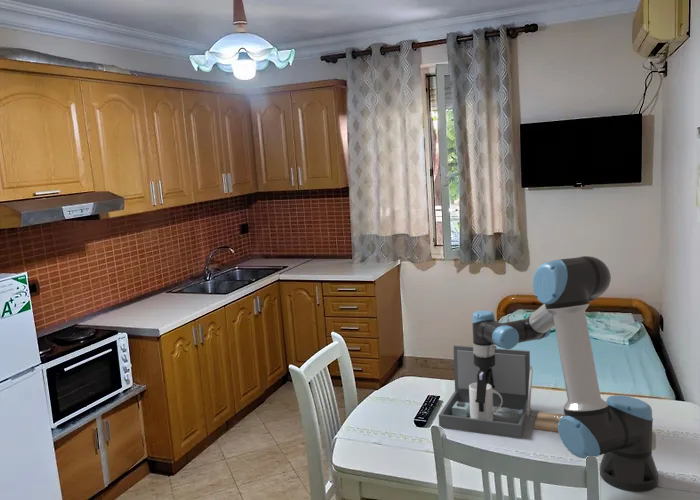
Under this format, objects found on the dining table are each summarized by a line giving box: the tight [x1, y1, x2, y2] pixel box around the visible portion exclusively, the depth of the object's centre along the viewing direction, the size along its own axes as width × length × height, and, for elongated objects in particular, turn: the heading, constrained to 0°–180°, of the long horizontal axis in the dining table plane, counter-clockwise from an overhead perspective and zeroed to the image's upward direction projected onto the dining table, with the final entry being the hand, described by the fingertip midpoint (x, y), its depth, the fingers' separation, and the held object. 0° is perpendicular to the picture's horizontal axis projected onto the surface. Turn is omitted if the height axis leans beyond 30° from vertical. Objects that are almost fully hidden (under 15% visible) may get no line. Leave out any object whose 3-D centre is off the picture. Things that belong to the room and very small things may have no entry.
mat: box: [533, 411, 565, 434], centre depth 203 cm, size 14×14×1 cm
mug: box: [468, 382, 503, 421], centre depth 209 cm, size 12×8×12 cm
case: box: [438, 344, 534, 439], centre depth 208 cm, size 24×29×22 cm
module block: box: [451, 401, 470, 418], centre depth 213 cm, size 6×5×5 cm
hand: (485, 412), depth 210 cm, fingers open, 12 cm apart
